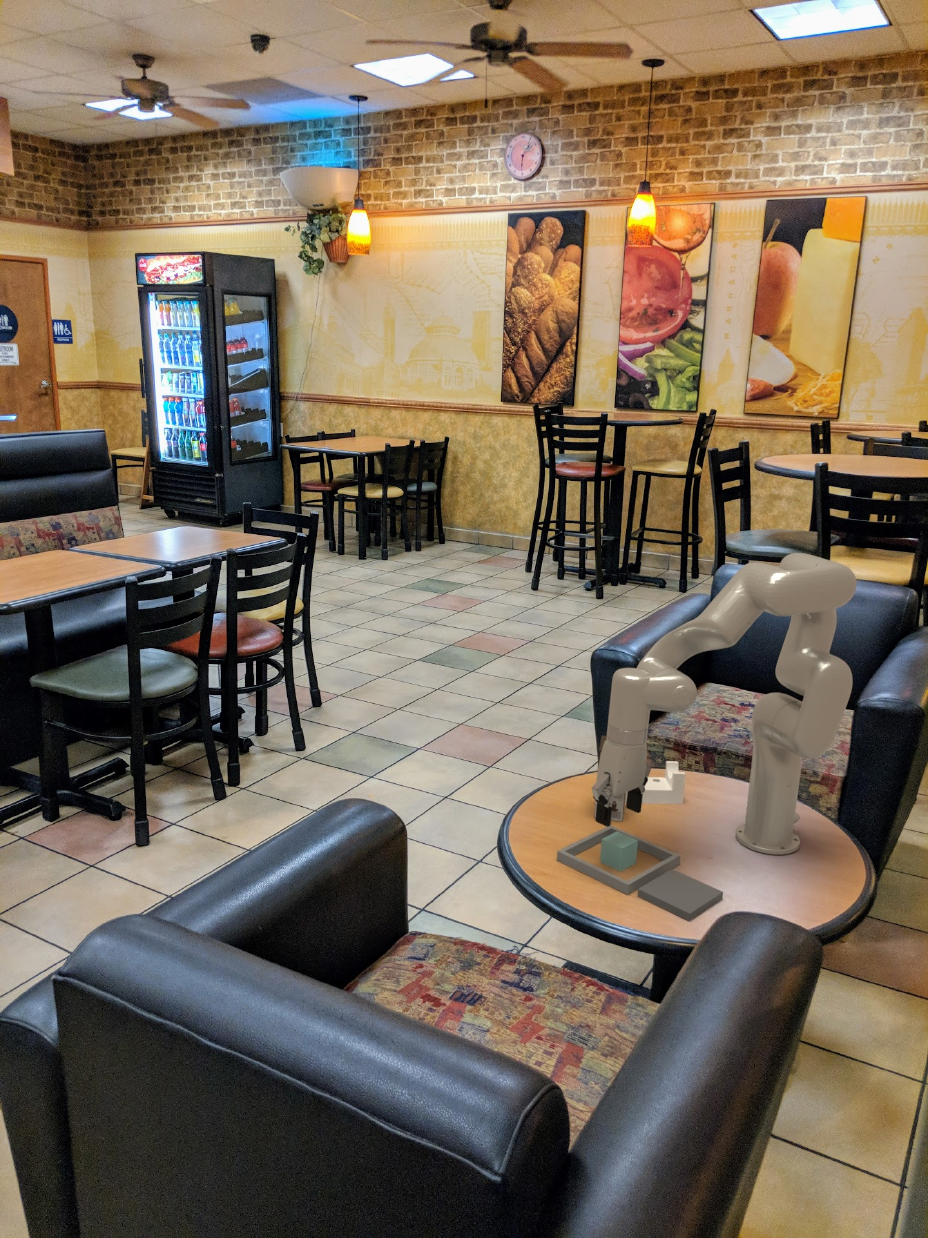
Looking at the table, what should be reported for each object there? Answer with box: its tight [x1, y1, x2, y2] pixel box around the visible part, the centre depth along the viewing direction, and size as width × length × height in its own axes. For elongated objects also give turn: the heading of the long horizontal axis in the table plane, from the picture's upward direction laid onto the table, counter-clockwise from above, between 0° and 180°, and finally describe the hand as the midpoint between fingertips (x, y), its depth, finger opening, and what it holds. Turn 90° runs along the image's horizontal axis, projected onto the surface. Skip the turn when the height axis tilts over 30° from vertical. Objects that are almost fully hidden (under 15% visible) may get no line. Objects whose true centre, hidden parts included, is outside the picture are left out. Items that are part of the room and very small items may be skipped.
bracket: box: [625, 760, 686, 805], centre depth 214 cm, size 13×7×8 cm, turn 92°
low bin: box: [556, 824, 681, 895], centre depth 185 cm, size 17×17×2 cm
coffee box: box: [594, 735, 626, 823], centre depth 205 cm, size 9×6×16 cm
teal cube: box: [599, 831, 638, 873], centre depth 184 cm, size 5×5×5 cm
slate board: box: [636, 868, 724, 922], centre depth 173 cm, size 11×11×2 cm
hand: (618, 817), depth 182 cm, fingers open, 9 cm apart
